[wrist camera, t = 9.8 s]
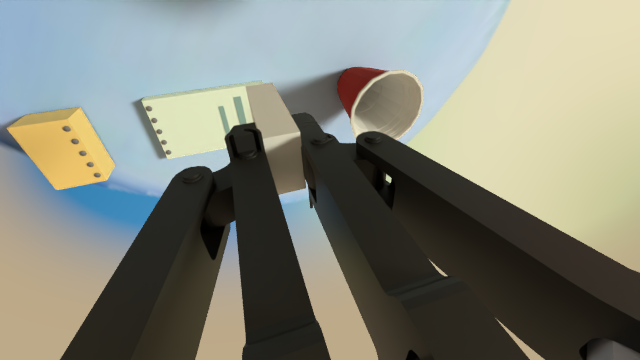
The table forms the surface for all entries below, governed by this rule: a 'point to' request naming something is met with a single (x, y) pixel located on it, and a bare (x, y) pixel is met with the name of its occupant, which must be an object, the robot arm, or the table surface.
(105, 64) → the table surface
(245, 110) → the pale green flat block
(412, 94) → the plastic cup
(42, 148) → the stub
